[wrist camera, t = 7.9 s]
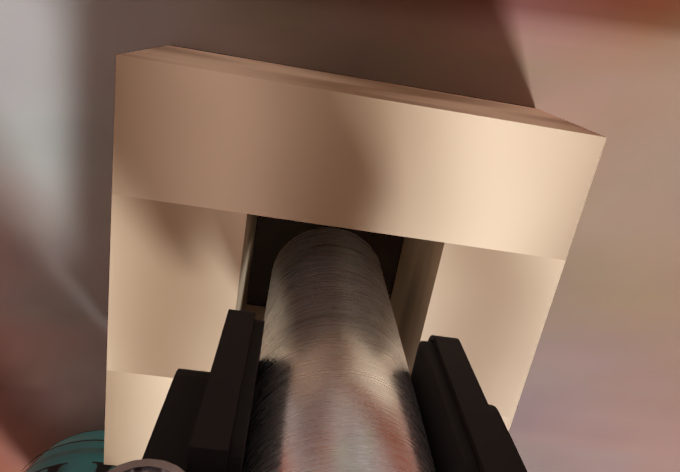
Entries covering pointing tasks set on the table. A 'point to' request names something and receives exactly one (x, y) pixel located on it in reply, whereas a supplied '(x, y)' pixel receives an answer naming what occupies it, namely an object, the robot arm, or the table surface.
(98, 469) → the beverage bottle
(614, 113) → the table surface
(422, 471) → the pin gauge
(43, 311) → the table surface
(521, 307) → the bore block
